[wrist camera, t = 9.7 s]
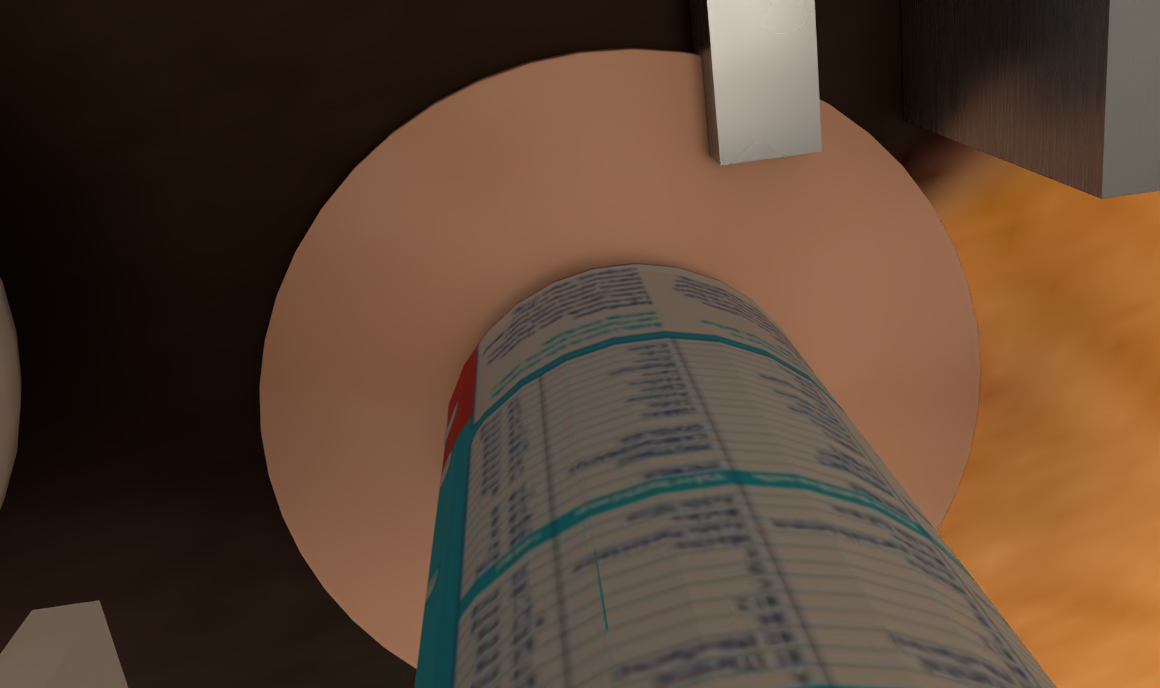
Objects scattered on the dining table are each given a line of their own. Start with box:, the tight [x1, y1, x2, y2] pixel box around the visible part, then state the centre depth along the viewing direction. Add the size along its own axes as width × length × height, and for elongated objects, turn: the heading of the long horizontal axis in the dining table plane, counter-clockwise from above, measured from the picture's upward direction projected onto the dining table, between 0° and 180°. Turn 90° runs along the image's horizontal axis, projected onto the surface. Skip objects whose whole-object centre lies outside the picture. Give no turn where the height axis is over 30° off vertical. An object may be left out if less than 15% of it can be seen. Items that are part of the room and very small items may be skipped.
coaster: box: [260, 47, 981, 669], centre depth 18 cm, size 12×12×1 cm
